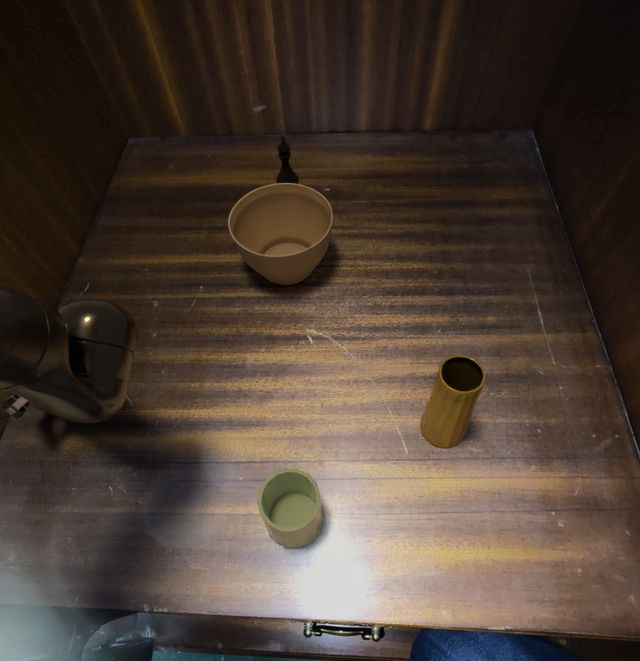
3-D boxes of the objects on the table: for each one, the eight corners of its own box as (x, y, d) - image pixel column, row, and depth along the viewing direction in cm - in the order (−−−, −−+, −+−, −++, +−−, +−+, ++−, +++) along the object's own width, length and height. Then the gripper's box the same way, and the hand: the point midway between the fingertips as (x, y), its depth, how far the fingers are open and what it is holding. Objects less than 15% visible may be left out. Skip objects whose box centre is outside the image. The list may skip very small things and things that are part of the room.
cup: (321, 549, 61) (318, 532, 55) (263, 546, 62) (254, 529, 55) (324, 492, 65) (321, 469, 59) (270, 489, 66) (262, 467, 59)
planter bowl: (221, 263, 89) (207, 215, 80) (293, 219, 95) (288, 169, 86) (279, 318, 82) (270, 272, 73) (353, 266, 87) (354, 218, 78)
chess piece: (293, 171, 103) (289, 126, 94) (302, 184, 100) (298, 139, 92) (273, 178, 102) (266, 133, 94) (281, 191, 99) (275, 146, 91)
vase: (475, 433, 69) (501, 379, 58) (439, 456, 67) (459, 406, 56) (445, 399, 72) (464, 342, 61) (410, 421, 71) (423, 366, 59)
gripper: (84, 302, 61) (62, 320, 75) (-20, 394, 54) (-23, 394, 68) (131, 347, 63) (101, 356, 77) (37, 440, 57) (23, 431, 71)
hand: (43, 374), depth 73 cm, fingers closed on pill bottle, 4 cm apart
